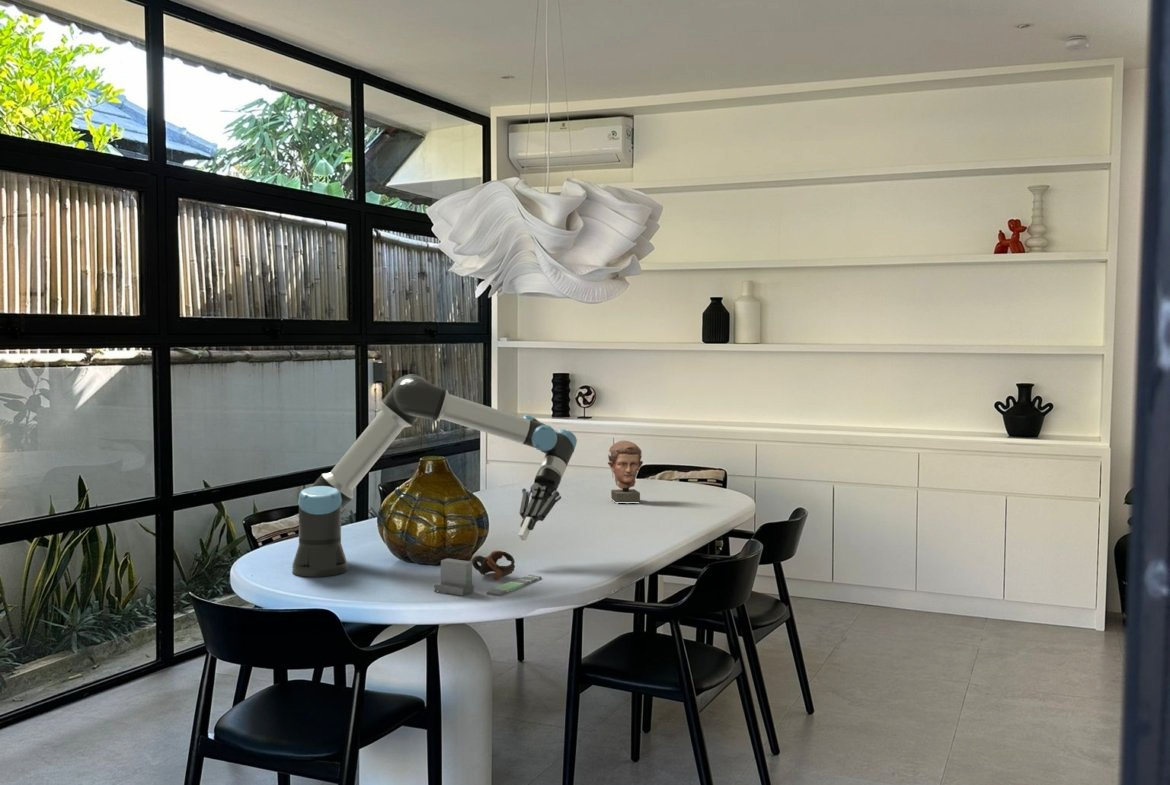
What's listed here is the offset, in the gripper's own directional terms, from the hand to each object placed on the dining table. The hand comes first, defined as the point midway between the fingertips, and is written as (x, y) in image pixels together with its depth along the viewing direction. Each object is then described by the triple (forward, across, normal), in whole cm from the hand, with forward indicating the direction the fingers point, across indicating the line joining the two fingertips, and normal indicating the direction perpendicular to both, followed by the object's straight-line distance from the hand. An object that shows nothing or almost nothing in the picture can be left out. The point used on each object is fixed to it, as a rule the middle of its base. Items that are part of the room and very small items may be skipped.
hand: (522, 537), depth 298 cm
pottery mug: (+16, +1, +4) cm, 17 cm away
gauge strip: (+20, -10, +8) cm, 24 cm away
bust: (-80, +23, -93) cm, 125 cm away
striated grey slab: (+29, +1, +17) cm, 34 cm away
